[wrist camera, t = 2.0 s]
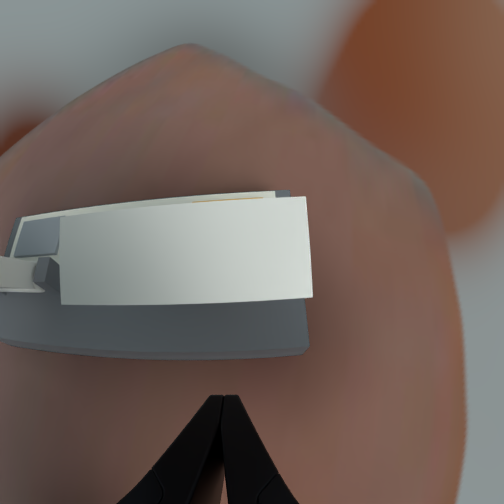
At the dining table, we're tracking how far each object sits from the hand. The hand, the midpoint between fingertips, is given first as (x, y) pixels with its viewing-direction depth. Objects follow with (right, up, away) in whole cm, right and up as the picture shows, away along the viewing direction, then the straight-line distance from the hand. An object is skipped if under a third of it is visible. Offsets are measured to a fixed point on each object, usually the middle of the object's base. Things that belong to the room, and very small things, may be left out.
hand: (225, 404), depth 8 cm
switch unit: (-7, +1, +11) cm, 14 cm away
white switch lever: (0, +4, +7) cm, 8 cm away
